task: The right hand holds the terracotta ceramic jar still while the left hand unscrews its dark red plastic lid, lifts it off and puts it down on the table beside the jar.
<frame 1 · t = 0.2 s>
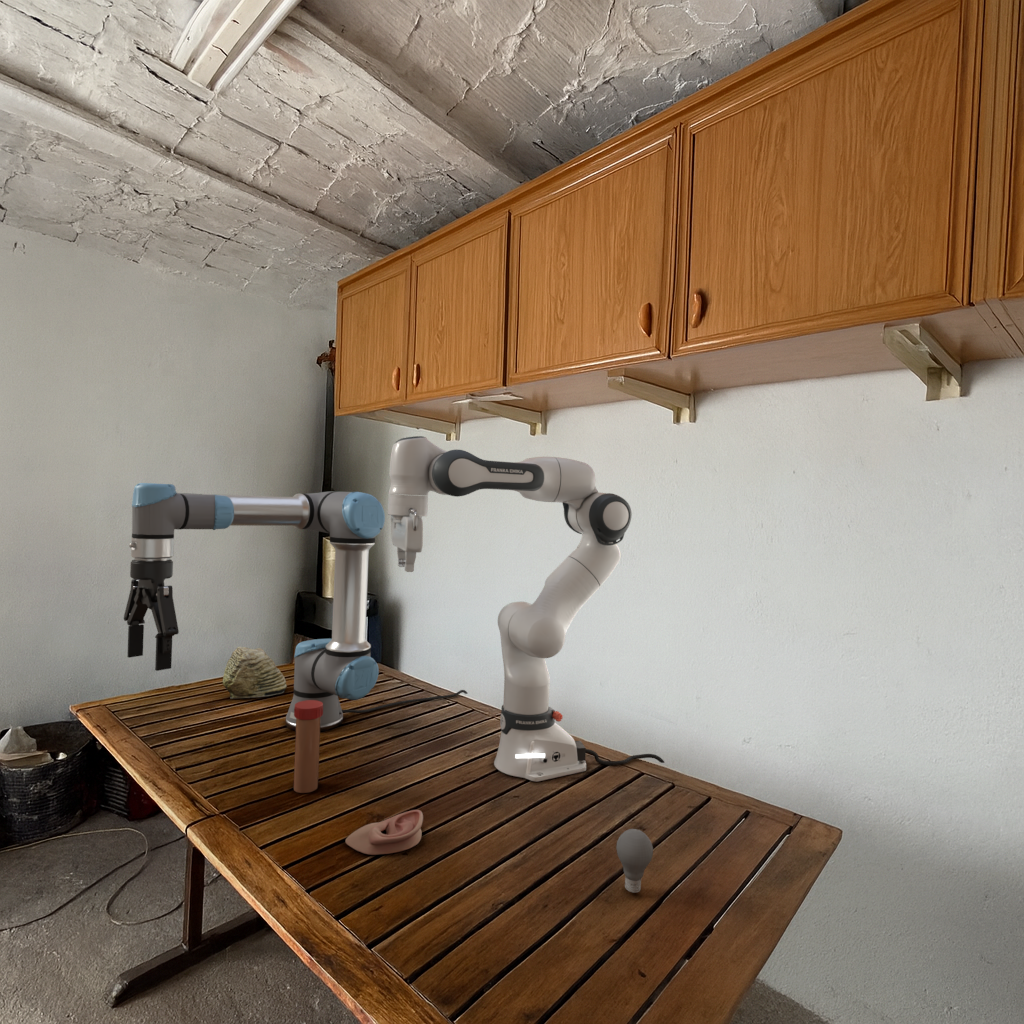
left hand: (148, 662, 129), 28 cm above the table, tool pointing down, fingers open, 13 cm apart
right hand: (405, 569, 143), 48 cm above the table, tool pointing down, fingers open, 8 cm apart
anatomical model: (384, 840, 118), on the table
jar: (305, 787, 138), on the table
light bulb: (632, 891, 106), on the table
lid: (308, 705, 137), point 18 cm above the table, screwed on, not yet turned
fossil: (254, 694, 198), on the table
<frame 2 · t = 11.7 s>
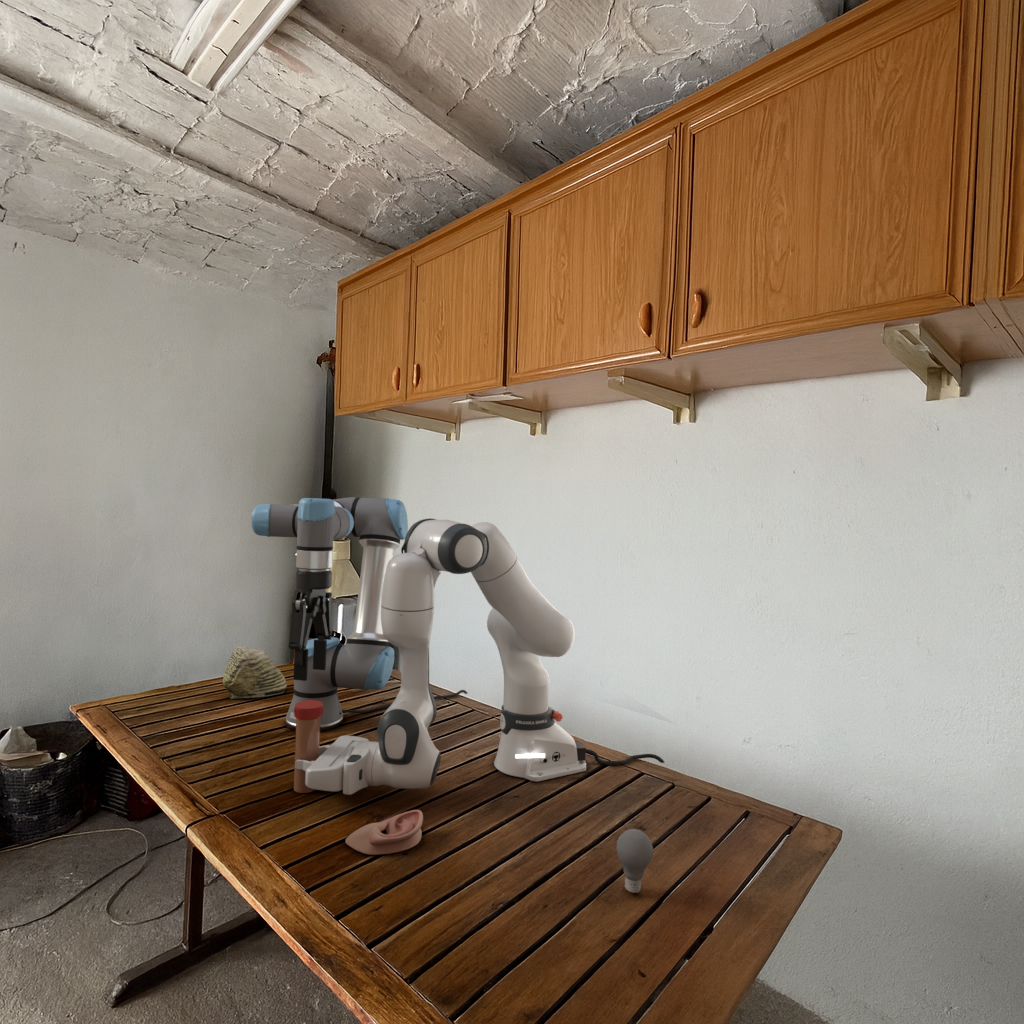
left hand: (310, 674, 137), 25 cm above the table, tool pointing down, fingers open, 8 cm apart
right hand: (302, 757, 137), 7 cm above the table, tool horizontal, fingers closed on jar, 5 cm apart
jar: (305, 787, 138), on the table, touching right hand
everything else where it was.
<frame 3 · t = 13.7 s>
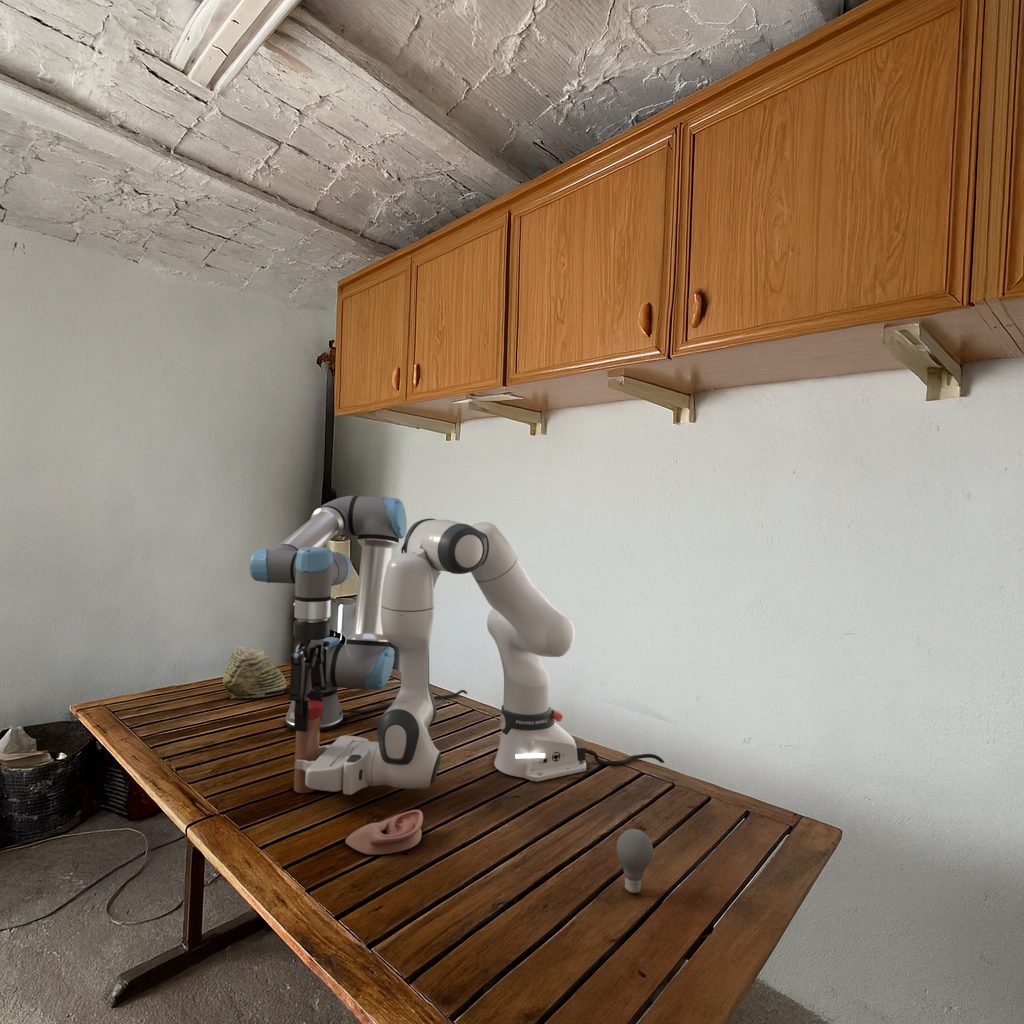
left hand: (308, 725, 137), 14 cm above the table, tool pointing down, fingers closed on lid, 6 cm apart
right hand: (302, 757, 137), 7 cm above the table, tool horizontal, fingers closed on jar, 5 cm apart
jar: (305, 787, 138), on the table, touching right hand
lid: (308, 705, 137), point 18 cm above the table, screwed on, not yet turned, touching left hand
everything else where it was.
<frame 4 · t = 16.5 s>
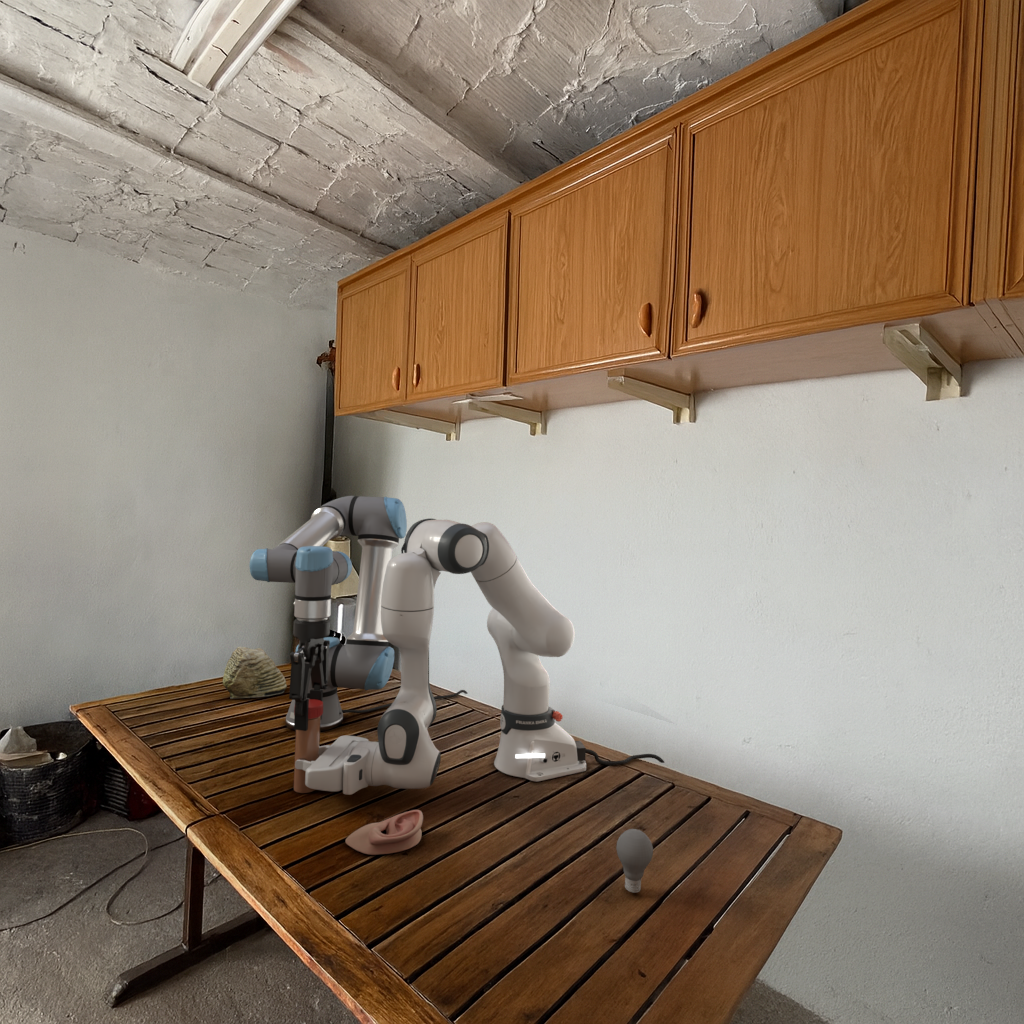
left hand: (308, 724, 137), 14 cm above the table, tool pointing down, fingers closed on lid, 6 cm apart
right hand: (302, 757, 137), 7 cm above the table, tool horizontal, fingers closed on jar, 5 cm apart
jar: (305, 787, 138), on the table, touching right hand
lid: (308, 705, 137), point 18 cm above the table, turned 64° so far, risen 0.2 cm, still on its thread, touching left hand
everything else where it was.
when the left hand's fingers open (14 cm above the table, at t = 17.6 s): lid stays where it is, point 18 cm above the table.
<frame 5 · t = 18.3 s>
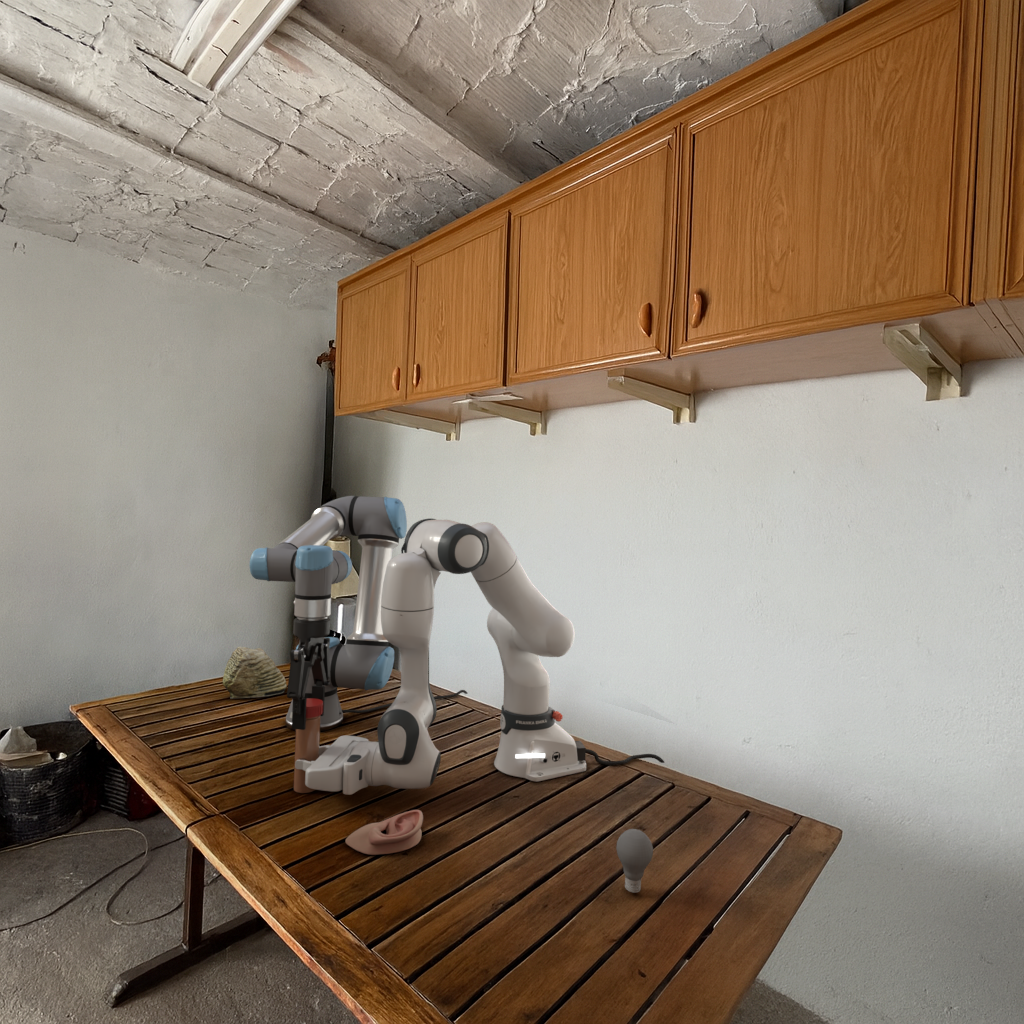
left hand: (308, 721, 137), 14 cm above the table, tool pointing down, fingers open, 8 cm apart
right hand: (302, 757, 137), 7 cm above the table, tool horizontal, fingers closed on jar, 5 cm apart
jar: (305, 787, 138), on the table, touching right hand
lid: (308, 704, 137), point 18 cm above the table, turned 129° so far, risen 0.4 cm, still on its thread
everything else where it was.
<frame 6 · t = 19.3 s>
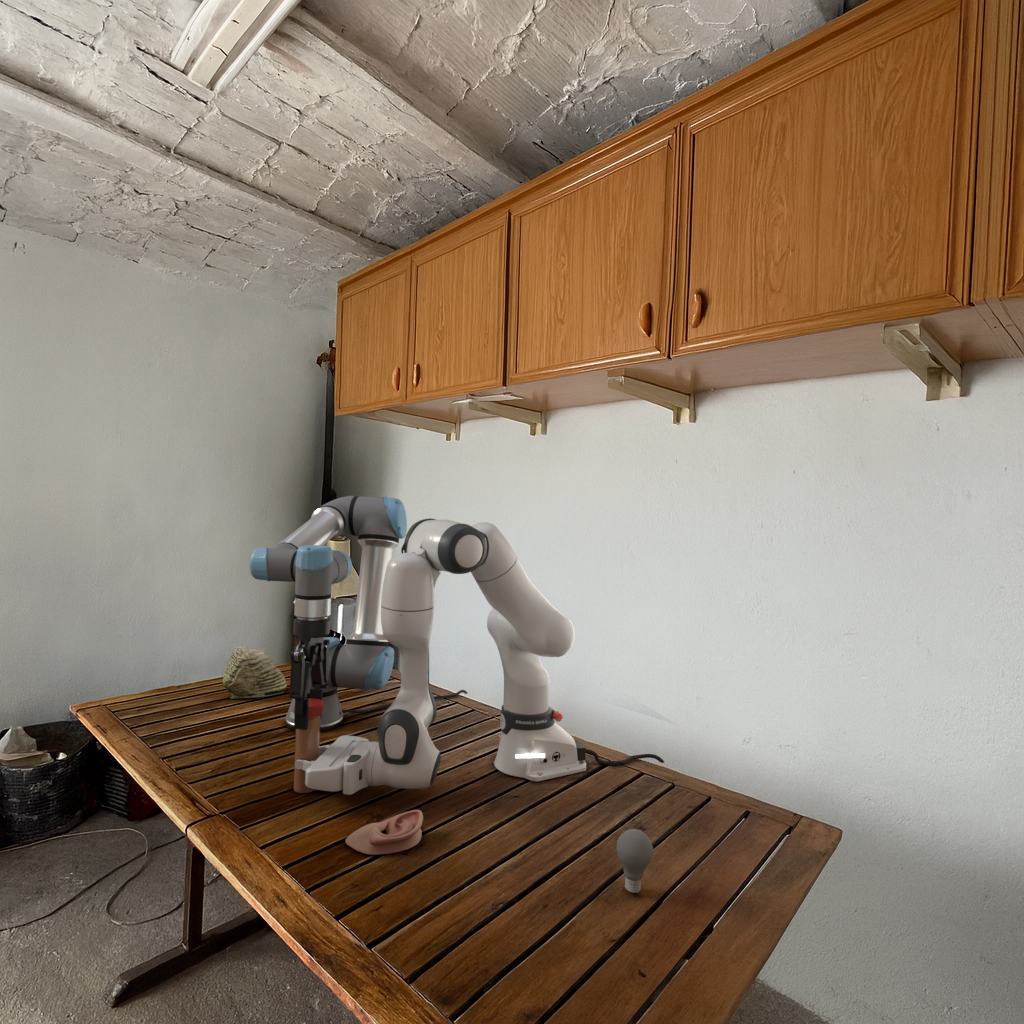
left hand: (308, 723, 137), 14 cm above the table, tool pointing down, fingers closed on lid, 6 cm apart
right hand: (302, 757, 137), 7 cm above the table, tool horizontal, fingers closed on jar, 5 cm apart
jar: (305, 787, 138), on the table, touching right hand
lid: (308, 704, 137), point 18 cm above the table, turned 129° so far, risen 0.4 cm, still on its thread, touching left hand
everything else where it was.
when the left hand's fingers open (0 cm above the table, at t = 26.6 s): lid drops 2 cm, point 2 cm above the table.
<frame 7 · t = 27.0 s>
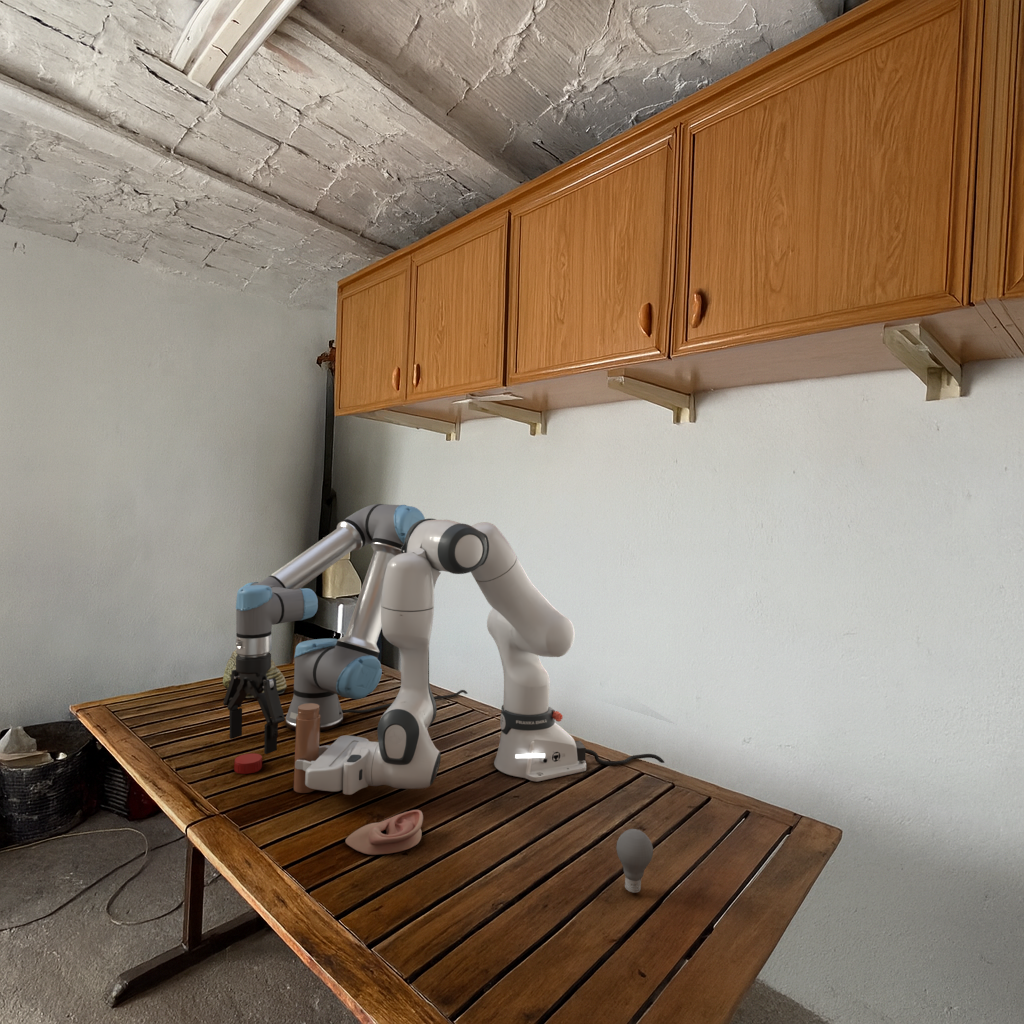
left hand: (252, 744, 146), 5 cm above the table, tool pointing down, fingers open, 13 cm apart
right hand: (302, 757, 137), 7 cm above the table, tool horizontal, fingers closed on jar, 5 cm apart
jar: (305, 787, 138), on the table, touching right hand
lid: (248, 759, 146), point 2 cm above the table, off its thread
everything else where it was.
when the right hand's fingers open (7 cm above the table, at t = 27.3 s): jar stays where it is, on the table.
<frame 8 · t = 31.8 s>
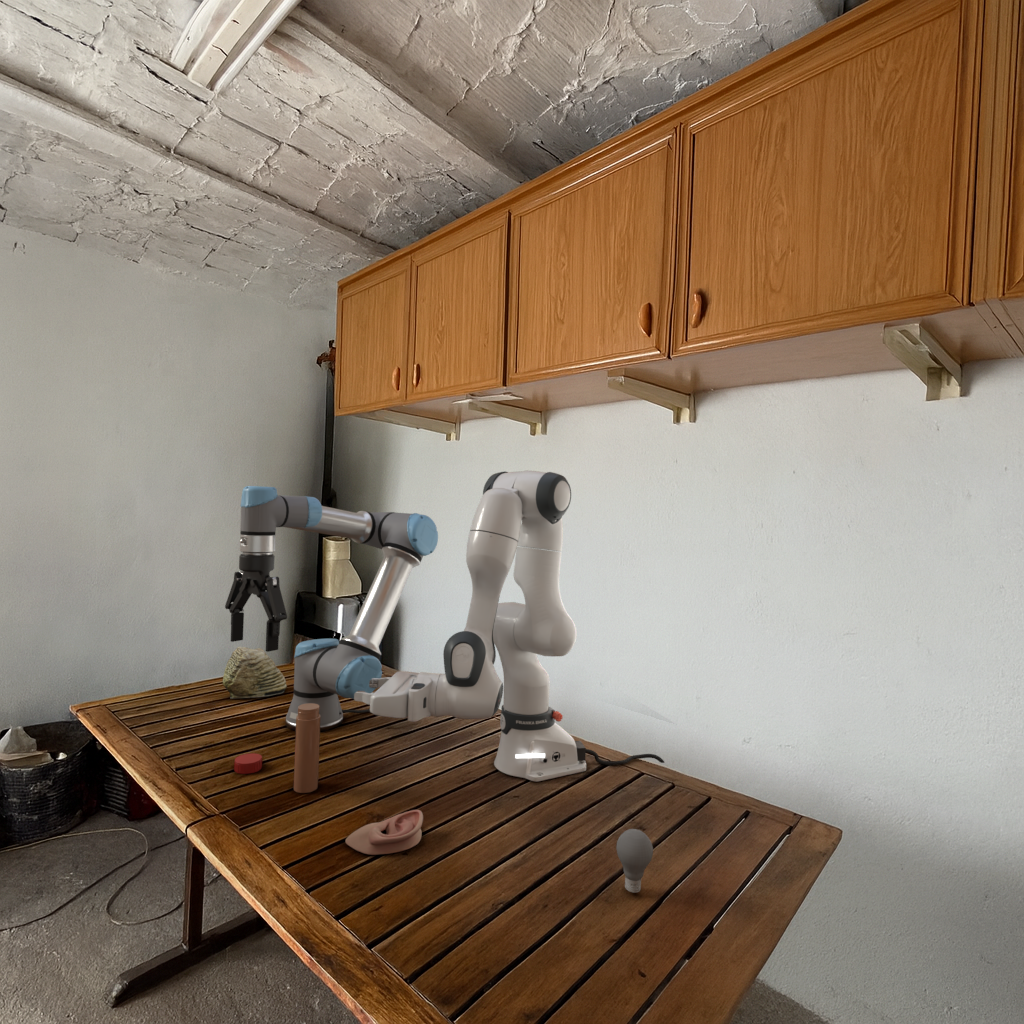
left hand: (253, 645, 146), 28 cm above the table, tool pointing down, fingers open, 13 cm apart
right hand: (362, 689, 136), 23 cm above the table, tool horizontal, fingers open, 8 cm apart
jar: (305, 787, 138), on the table
everything else where it was.
at the end: lid came off its thread; lid point 2.0 cm above the table; the left hand is holding nothing; the right hand is holding nothing; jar tilted 0°; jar moved 0.0 cm from its start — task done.
